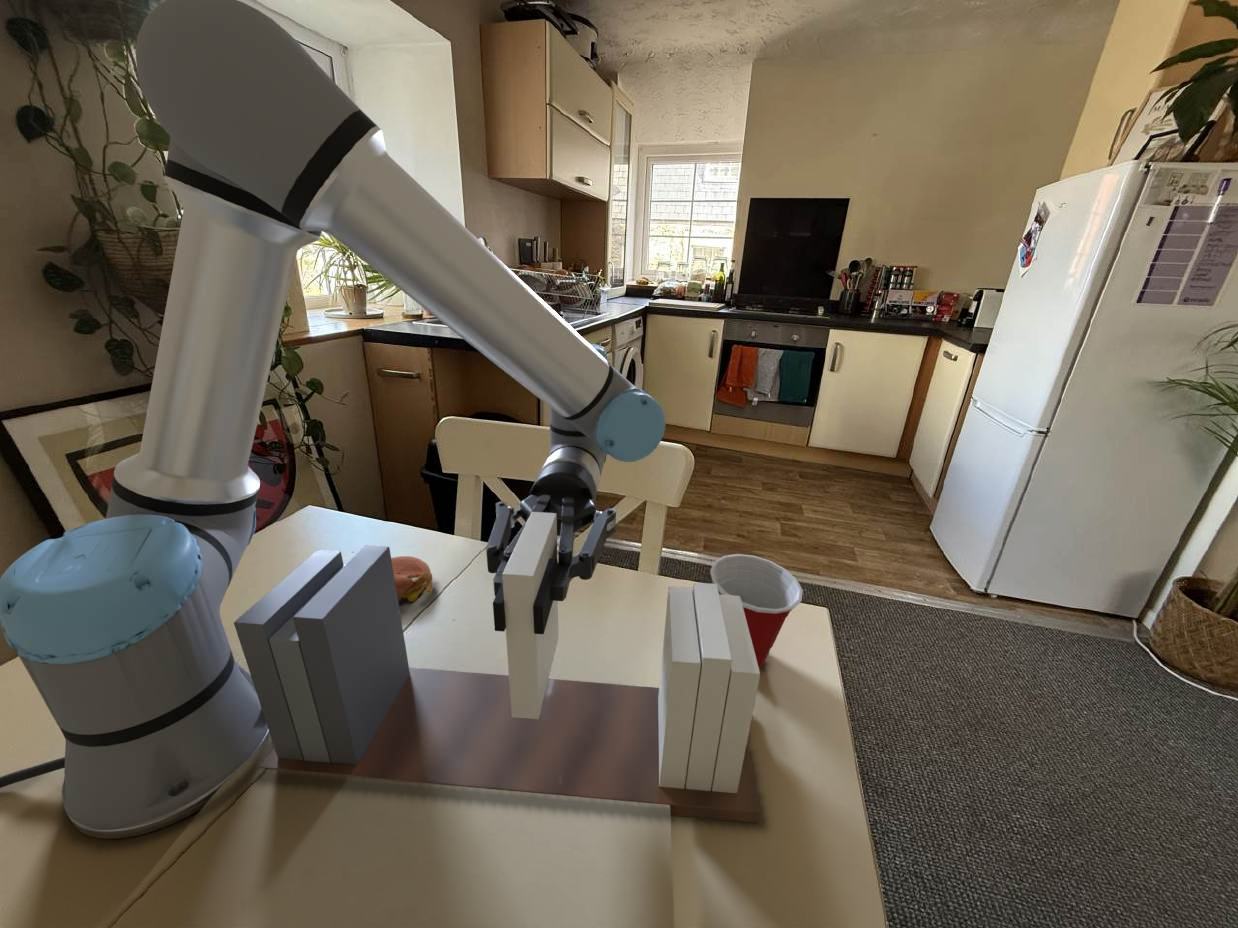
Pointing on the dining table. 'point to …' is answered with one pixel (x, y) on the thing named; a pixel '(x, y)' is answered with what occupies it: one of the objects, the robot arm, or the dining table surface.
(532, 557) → the white book
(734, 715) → the white books
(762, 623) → the plastic cup
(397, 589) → the burger
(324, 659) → the grey books
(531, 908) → the dining table surface
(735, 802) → the shelf board
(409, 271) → the robot arm
